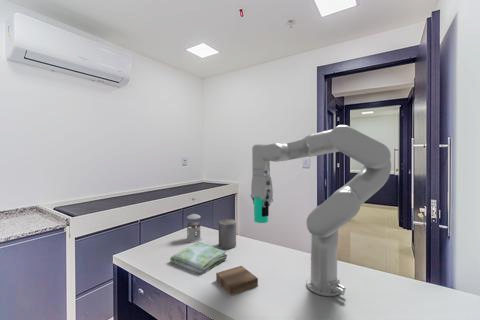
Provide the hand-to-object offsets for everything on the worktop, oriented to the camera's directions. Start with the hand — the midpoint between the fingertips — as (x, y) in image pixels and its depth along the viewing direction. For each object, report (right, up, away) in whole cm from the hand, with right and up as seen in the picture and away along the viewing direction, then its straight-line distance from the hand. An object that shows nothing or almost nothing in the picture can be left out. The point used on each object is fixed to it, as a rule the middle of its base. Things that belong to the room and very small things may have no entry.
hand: (261, 214), depth 103 cm
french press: (-37, -24, +38) cm, 58 cm away
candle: (0, -3, 0) cm, 3 cm away
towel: (-29, -25, +10) cm, 39 cm away
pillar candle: (-16, -24, +29) cm, 41 cm away
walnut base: (-11, -25, -9) cm, 29 cm away
